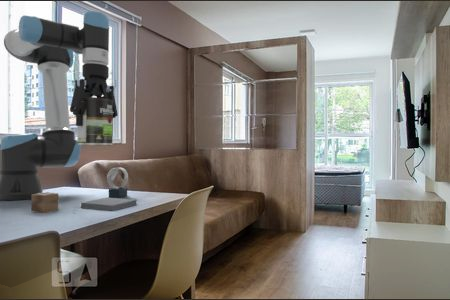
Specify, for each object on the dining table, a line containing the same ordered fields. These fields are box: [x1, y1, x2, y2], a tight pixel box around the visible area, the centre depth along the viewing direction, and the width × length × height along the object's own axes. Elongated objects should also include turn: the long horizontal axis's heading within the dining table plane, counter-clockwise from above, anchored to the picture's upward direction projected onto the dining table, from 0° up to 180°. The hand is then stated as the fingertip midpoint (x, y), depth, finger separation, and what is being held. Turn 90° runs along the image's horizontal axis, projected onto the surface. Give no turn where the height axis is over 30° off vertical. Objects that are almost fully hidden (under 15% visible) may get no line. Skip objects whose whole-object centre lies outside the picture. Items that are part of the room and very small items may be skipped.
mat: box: [80, 197, 137, 211], centre depth 113 cm, size 12×12×2 cm
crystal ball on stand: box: [106, 167, 130, 199], centre depth 132 cm, size 6×8×11 cm
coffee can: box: [77, 96, 114, 147], centre depth 108 cm, size 10×10×14 cm
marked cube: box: [31, 191, 59, 214], centre depth 104 cm, size 5×5×5 cm
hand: (95, 138), depth 108 cm, fingers closed on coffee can, 10 cm apart
